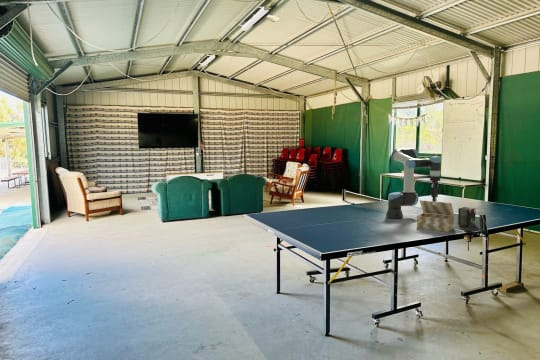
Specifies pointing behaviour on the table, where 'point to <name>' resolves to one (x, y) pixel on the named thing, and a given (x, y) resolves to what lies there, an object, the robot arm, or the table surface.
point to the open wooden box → (435, 222)
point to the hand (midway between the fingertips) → (434, 205)
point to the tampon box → (466, 216)
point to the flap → (437, 208)
